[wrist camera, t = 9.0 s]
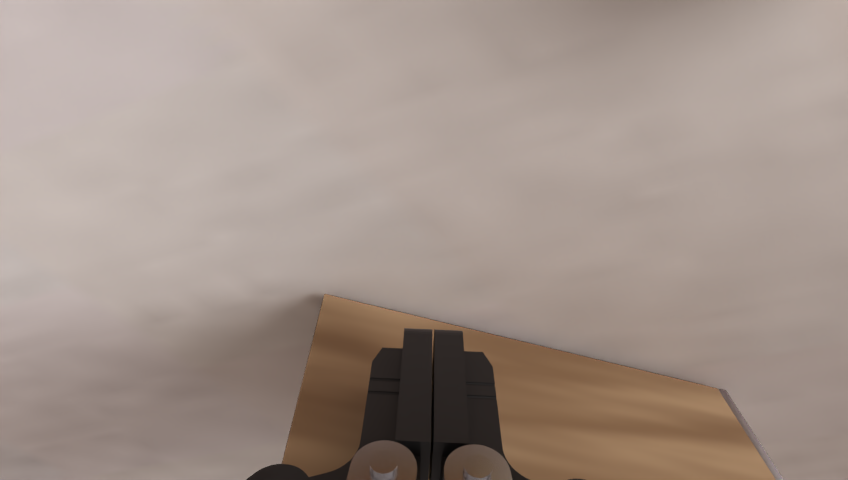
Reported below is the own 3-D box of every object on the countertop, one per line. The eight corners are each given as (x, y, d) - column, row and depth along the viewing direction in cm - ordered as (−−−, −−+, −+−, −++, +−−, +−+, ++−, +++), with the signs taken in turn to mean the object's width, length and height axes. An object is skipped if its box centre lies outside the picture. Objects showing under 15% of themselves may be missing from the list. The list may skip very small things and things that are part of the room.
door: (324, 293, 18) (276, 487, 12) (717, 388, 20) (849, 594, 14) (312, 339, 19) (261, 542, 13) (690, 425, 21) (802, 634, 15)
